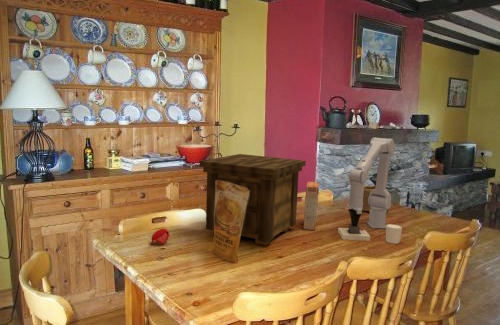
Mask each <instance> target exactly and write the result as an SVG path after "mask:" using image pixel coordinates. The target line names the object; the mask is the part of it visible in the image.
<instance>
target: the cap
mask: <svg viewBox="0 0 500 325" xmlns="http://www.w3.org/2000/svg"><path fill="white" fill-rule="evenodd" d="M150 238H151V241H150V245H152V244H153V243H154V242H156V243H159V244H161V245H162V246H165V245H166V242H167V241H168V239H169V238H170V232H169V230H168V229H167V228H160V229H158V230H157V231H155V232H154V233H153V234H152V236H151V237H150Z"/></svg>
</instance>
